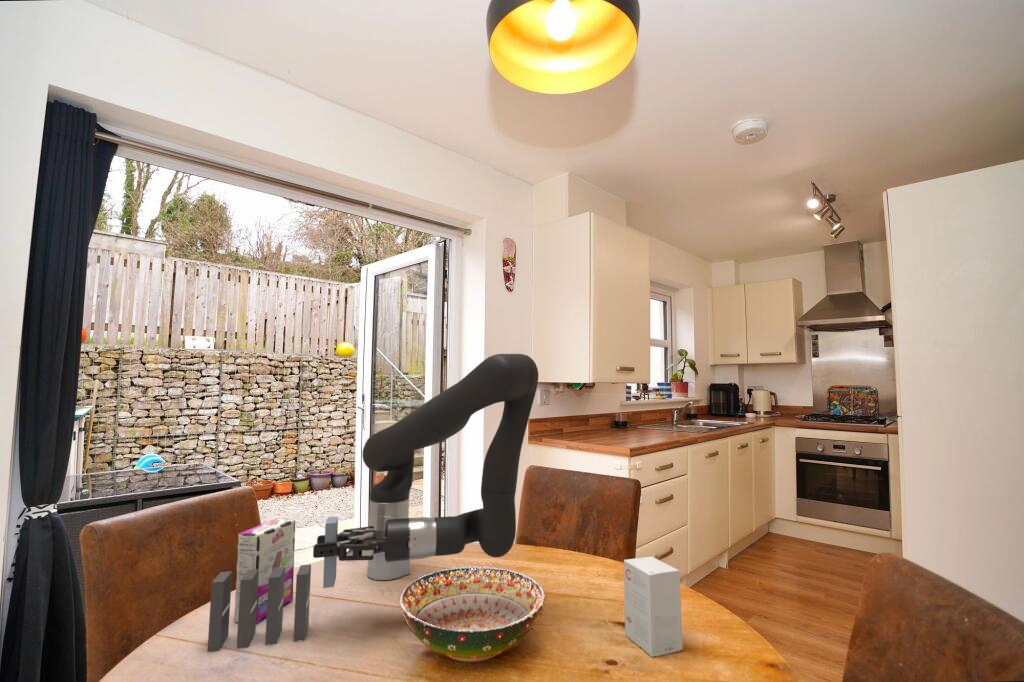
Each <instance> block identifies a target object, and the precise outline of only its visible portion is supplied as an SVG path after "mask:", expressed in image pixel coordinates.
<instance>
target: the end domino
mask: <svg viewBox="0 0 1024 682" xmlns="http://www.w3.org/2000/svg"><path fill="white" fill-rule="evenodd" d="M232 577H233V571H232V570H229V571H220V572H219V574H218V575H217V576H216V577H215V578H214V579H213V581H212V582H211V588H210V592H211V593H210V604H209V605H210V607H209V619H208V621H209V622H208V638H207V649H206V650H207V653H211V652H218V651H220V650H221V649H222V647H223V645H224V643H225V642H226V641H227V639H228V637H229V628H230V627H229V626H230V611H231V596H232V595H231V592H232V581H233V578H232ZM208 651H209V652H208ZM210 651H211V652H210Z"/></svg>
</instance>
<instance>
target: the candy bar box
mask: <svg viewBox="0 0 1024 682" xmlns="http://www.w3.org/2000/svg"><path fill="white" fill-rule="evenodd" d="M295 539H296V519H293V518H292V519H290V518H289V519H288V518H280V517H279V518H275V519H272V520H270V521H267V522H264V523H261V524H259V525H257V526H254V527H252V528H249V529H247V530H244V531H242V532H240V533H238V534H237V551H236V553H237V555H236V576H235V577H236V579H235V596H234V597H235V601H234V602H235V603H234V621H233V622H234V623H236V624H238V617H239V600H240V583H241V579H242V578H243V576H244V575H245V573H246V572H247V571H248V570H252V569H259V578H258V596H257V614H256V625H258V624H259V623H261V622H262V621H264V620H265V619H267V601H268V582H269V576H270V575H271V573H272V571H273V569H274V568H277V567H285V580H284V600H283V607H284V606H286V605H287V604H290V603H291V602H292V601H293V600H294V575H295V573H294V571H295V569H294V568H295V544H296V543H295V541H296V540H295Z"/></svg>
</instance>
